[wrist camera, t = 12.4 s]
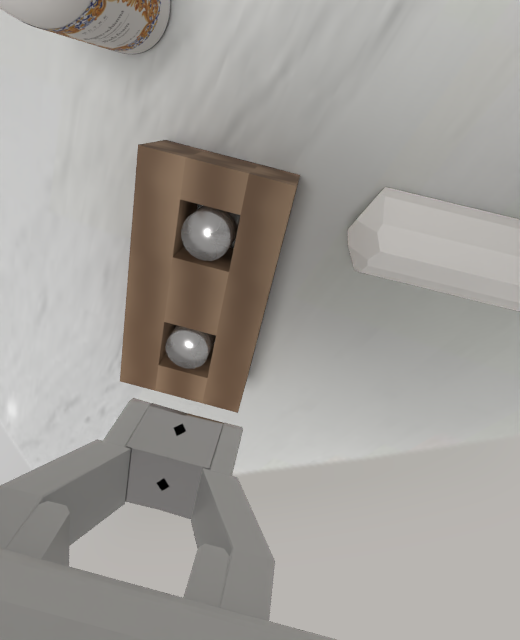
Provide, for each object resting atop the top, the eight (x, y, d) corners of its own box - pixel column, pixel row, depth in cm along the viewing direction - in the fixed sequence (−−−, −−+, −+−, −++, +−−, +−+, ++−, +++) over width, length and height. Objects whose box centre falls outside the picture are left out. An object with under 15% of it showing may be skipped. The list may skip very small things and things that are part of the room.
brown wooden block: (300, 175, 35) (296, 186, 30) (247, 377, 45) (237, 412, 40) (165, 140, 35) (138, 144, 30) (143, 349, 46) (119, 381, 40)
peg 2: (224, 310, 42) (211, 337, 37) (217, 343, 44) (204, 373, 39) (186, 300, 42) (168, 326, 37) (181, 333, 44) (163, 362, 39)
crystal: (328, 294, 36) (599, 361, 35) (354, 237, 30) (680, 317, 29) (338, 234, 40) (581, 293, 39) (362, 173, 34) (650, 243, 33)
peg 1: (246, 204, 37) (234, 218, 32) (237, 246, 38) (225, 266, 33) (203, 192, 37) (184, 205, 32) (196, 235, 39) (178, 253, 33)
